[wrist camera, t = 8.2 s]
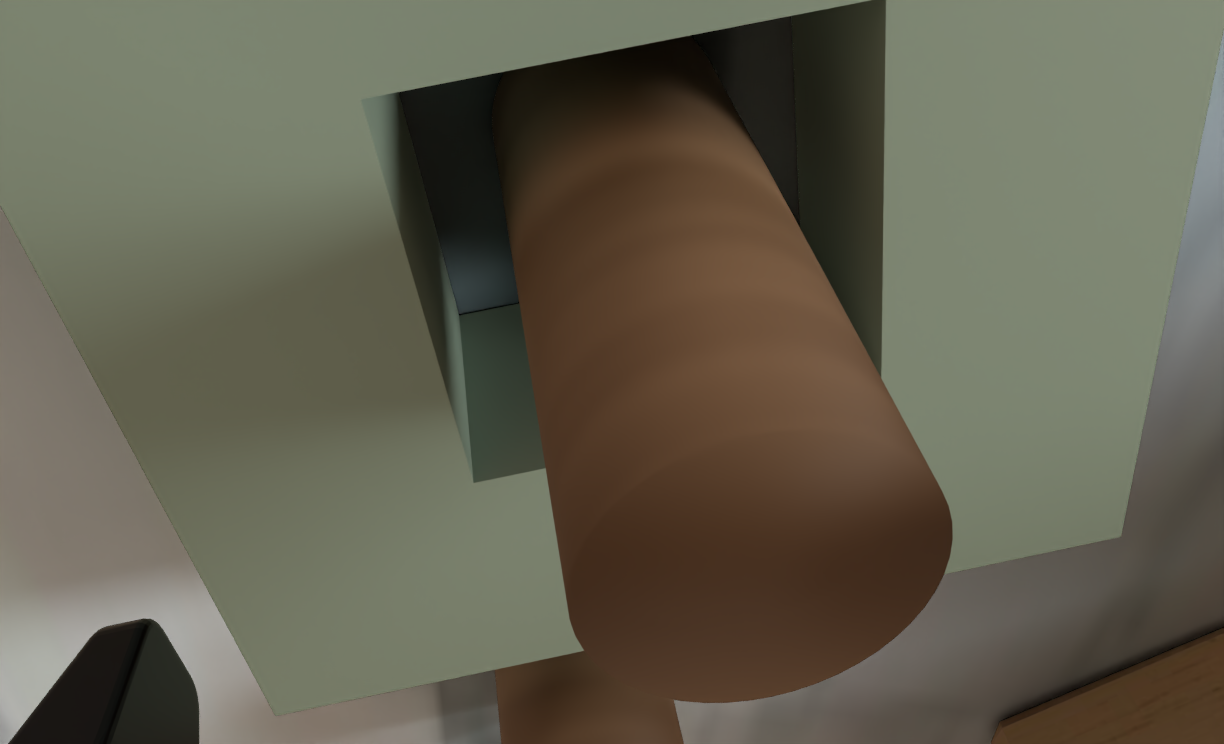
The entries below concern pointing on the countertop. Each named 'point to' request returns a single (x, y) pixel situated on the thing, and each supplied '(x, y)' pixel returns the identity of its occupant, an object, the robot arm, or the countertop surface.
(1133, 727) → the decorative block
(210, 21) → the hole block
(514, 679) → the short pin
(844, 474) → the long pin
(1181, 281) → the countertop surface
